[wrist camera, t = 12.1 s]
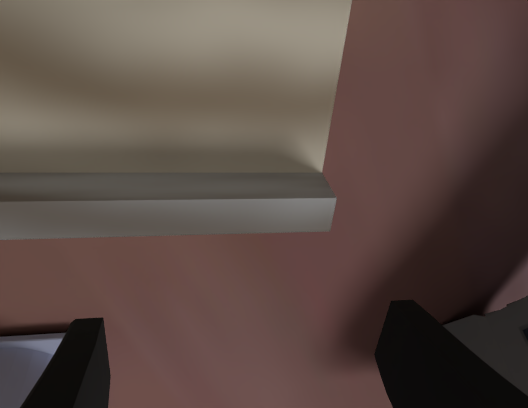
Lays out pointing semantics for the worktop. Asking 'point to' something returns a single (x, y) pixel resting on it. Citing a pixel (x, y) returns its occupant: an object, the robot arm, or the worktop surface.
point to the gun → (499, 340)
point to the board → (166, 116)
